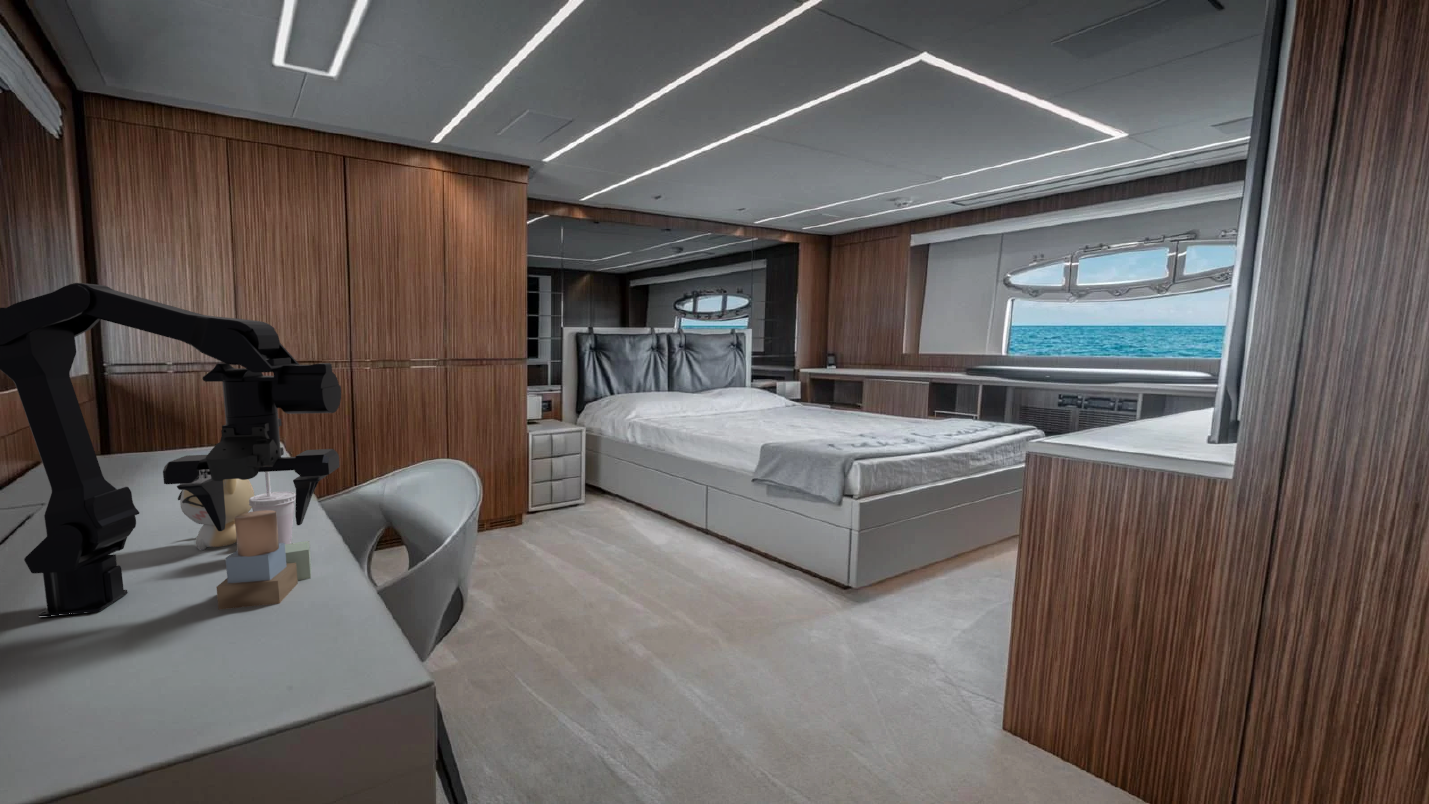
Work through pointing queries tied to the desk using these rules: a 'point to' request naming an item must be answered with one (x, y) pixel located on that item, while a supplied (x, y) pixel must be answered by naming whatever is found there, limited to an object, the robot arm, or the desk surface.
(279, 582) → the tower base
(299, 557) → the block
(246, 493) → the kitten
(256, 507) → the smoothie
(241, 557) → the tower mid
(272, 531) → the clay cylinder
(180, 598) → the desk surface
